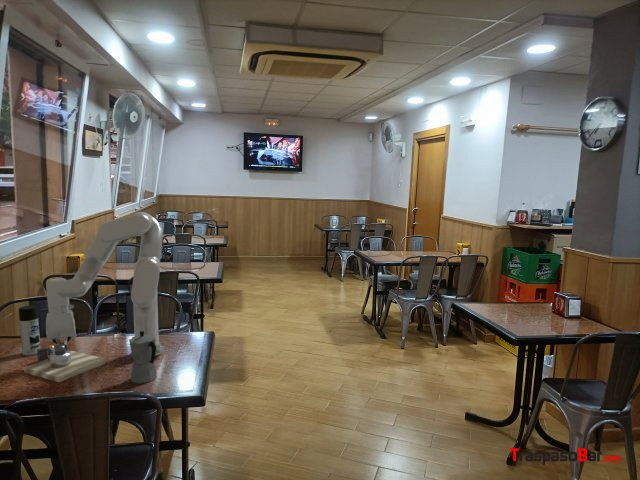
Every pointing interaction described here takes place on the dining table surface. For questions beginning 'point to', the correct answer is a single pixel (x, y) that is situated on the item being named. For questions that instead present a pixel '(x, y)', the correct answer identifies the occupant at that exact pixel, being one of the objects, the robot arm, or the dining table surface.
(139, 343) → the coffeepot
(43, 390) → the dining table surface
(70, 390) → the dining table surface
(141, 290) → the robot arm
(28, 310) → the spray can
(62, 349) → the crank
